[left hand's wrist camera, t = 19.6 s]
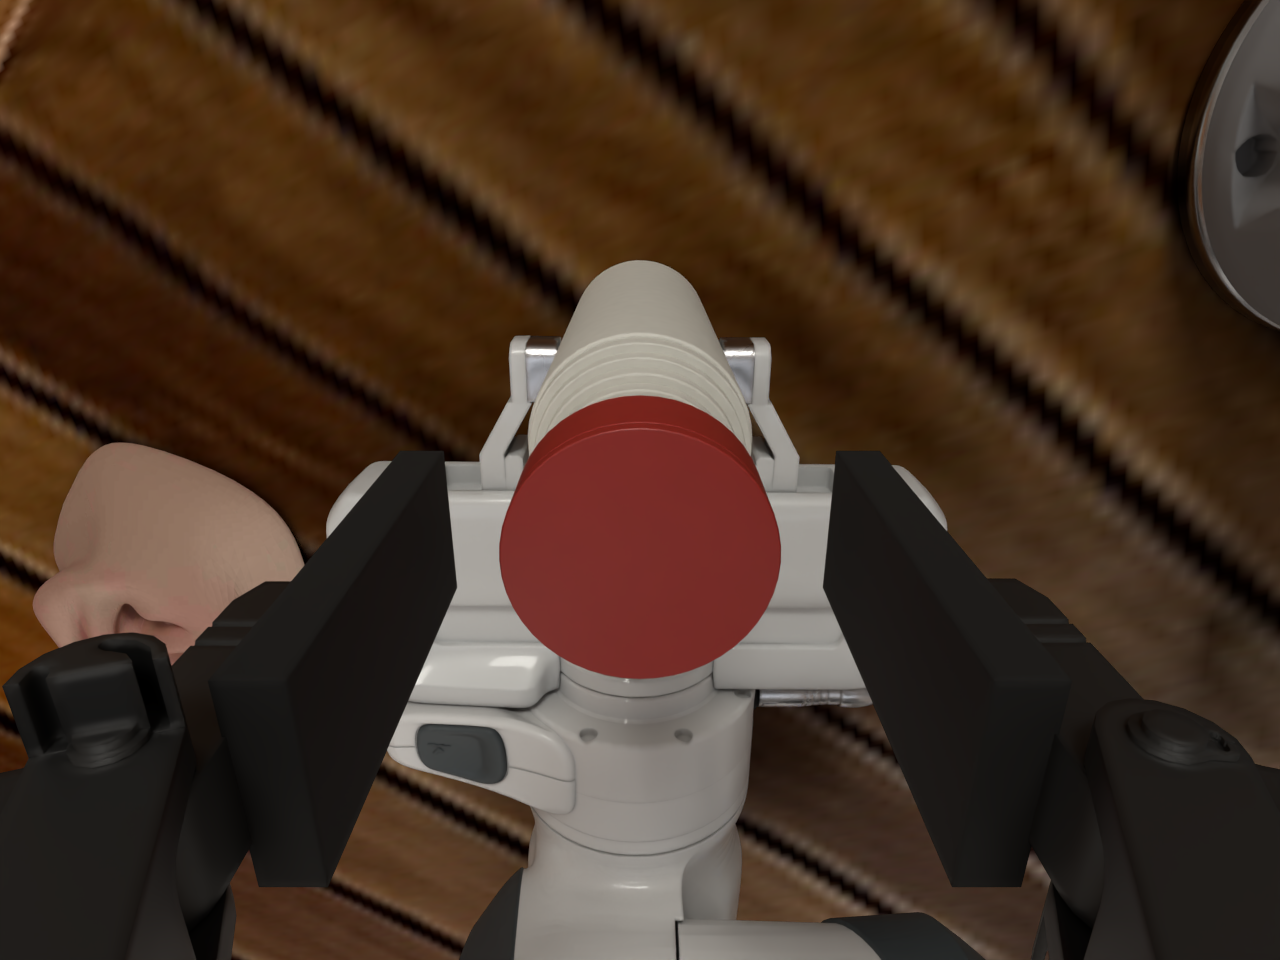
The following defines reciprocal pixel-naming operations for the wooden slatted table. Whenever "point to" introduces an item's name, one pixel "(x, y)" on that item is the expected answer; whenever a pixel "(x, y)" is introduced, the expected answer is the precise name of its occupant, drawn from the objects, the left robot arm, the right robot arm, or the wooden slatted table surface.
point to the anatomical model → (157, 549)
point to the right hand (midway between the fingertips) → (638, 339)
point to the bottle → (640, 351)
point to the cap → (640, 539)
